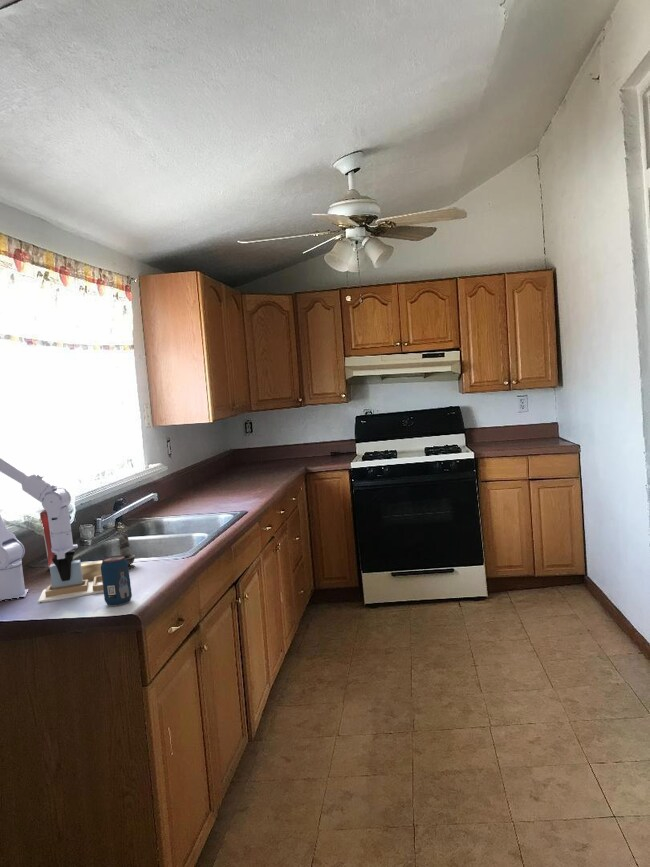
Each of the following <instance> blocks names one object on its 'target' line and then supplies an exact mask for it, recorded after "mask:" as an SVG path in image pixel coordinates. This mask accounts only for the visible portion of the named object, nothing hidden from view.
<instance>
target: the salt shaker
mask: <svg viewBox="0 0 650 867" xmlns="http://www.w3.org/2000/svg"><path fill="white" fill-rule="evenodd" d="M118 541H119V542H118V544H119V545H118V547H119V552H120V553H119V555H122V556H125V559H126V561H127V562H128V568H129V570H132V569H131V568H133V569H135V568H136V565H134V564H133V563H134V561H135V557H136V555H135V554H132V552H131V549H130V545H131V544H130V543H129V536H128V534H127V533H124V531H123V530H122V531H121V533H120V534H119V535H118ZM134 567H135V568H134Z"/></svg>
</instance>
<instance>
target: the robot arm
mask: <svg viewBox="0 0 650 867" xmlns="http://www.w3.org/2000/svg"><path fill="white" fill-rule="evenodd" d="M0 473H2V474H4V475H6V476H8V478H11V479H12V480H14V481H16V482H18V483H19V484H21V487H22V488H21V490H22V491H23V492H25V493H27V494H28V495H30V496H31V497H33V498H34V499H36V500H37V501H39V502H40V503H41V505H42V508H43V509H44V510H46V511H47V516H48V522H49V529H50V537H51V545H52V549H51V551H52V552H53V553H55V554H54V556H55V557H52V561H53V562H54V564H55V565H56V567H57V569H58V571H59V574H60V577H61V580H62V581H67V580H70V576H71V562H72V561H74V560H73V558H74V557H75V552H76V550H75V549H77V548H79V546H78V544H77V543H76V544H74V542H73V533H72V526H71V517H70V516H71V515H70V509H69V505H70V503H71V501H72V497H71V494H70V492H69V491H68V490H66V488H64V487H58V486H57V485H56V484H53V483H51V482H49V481H47V480H46V479H44V475H42V474H41V473H40V474H37V473H31V474H29V473H28V472H27V471H25V470H24V469H23V468H22V467H20V466H19V465H18V464H17V463H15V462H13V461H12V459H10V458H9V457H7V456H6V455H5V454H4V453H3V451H2V450H0ZM52 484H53V485H52ZM25 553H26V549H25V546H24V544H23V543H22V542H21V541H20V540H18V538H17V537H16V535H15V534H14V533H13V532H11V531H9V530H8V528H7V526H6V524H5V521H4V520H3V518H2V516H1V515H0V599H2V600H3V599H11V598H17V599H20V598H19V597H24V598H26V596H27V594H28V593H27V592H29V591H28V590H29V588H27V589H26V586H25V579H24V577H25V576H24V573H23V572H24V571H23V564H22V562H23V561H22V559H23V558H24V556H25ZM11 600H12V599H11Z"/></svg>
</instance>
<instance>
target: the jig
mask: <svg viewBox="0 0 650 867" xmlns="http://www.w3.org/2000/svg"><path fill="white" fill-rule="evenodd" d="M100 593H101V594H102V593H103V594H104V591H103V583H102V575H100V576H95V577H94V581H88V579H87V580H83V581H82V583H79V584H73V585H67V586H61V587H54V588H52V584H51V585H48V586H47V587H46V588H45V589H43V590H42V592H41V594H40V596H39V598H38V600H37V603H38V604H41V603H40V602H42V603H47V602H54V601H58V600H59V601H60V600H66V599H71V598H78V597H83V596H88V595H89V596H90V595H95V594H96V595H97V594H100Z"/></svg>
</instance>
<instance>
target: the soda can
mask: <svg viewBox="0 0 650 867" xmlns="http://www.w3.org/2000/svg"><path fill="white" fill-rule="evenodd" d="M101 561H102V564H101V575H102V583H103V591H104V592H103V598H104V602H105V604H107V606H108V607H117V606H119V605H120V606H124V605H127V604H128V602H129V601H130V602H131V600H132V597H133V593H132V585H131V584H132V583H131V578H130V569H129V568H128V562H127V561H126V559H125V556H122V555H120V554H119V555H111V556H108V557H104V558H102V560H101ZM130 602H129V603H130ZM126 603H127V604H126ZM123 604H124V605H123ZM120 606H119V607H120Z"/></svg>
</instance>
